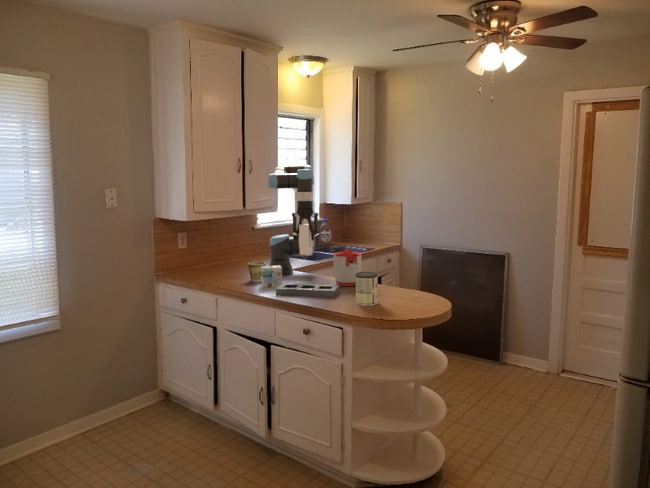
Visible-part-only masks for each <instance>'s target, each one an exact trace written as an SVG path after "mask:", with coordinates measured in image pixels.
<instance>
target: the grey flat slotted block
mask: <svg viewBox="0 0 650 488" xmlns="http://www.w3.org/2000/svg"><path fill="white" fill-rule="evenodd" d="M340 292H341V286H340V285H337V284H317V283H315V284H314V283H313V284H312V283H310V284H309V283H290V282H289V283H286V282H282V285H280V286H279V287H275V296H277V297H279V296H280V297H281V296H282V297H302V298H305V297H307V298H328V299H335V298H336V297H337V296H338V295H339V294H340Z"/></svg>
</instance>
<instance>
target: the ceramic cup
mask: <svg viewBox="0 0 650 488" xmlns="http://www.w3.org/2000/svg"><path fill="white" fill-rule="evenodd" d="M261 266H266V262H264V261H252V262H248V263H247V268H248V272H249V277H250V281H251V282H253V283H257V282H260V283H261Z"/></svg>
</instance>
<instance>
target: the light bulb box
mask: <svg viewBox="0 0 650 488" xmlns="http://www.w3.org/2000/svg"><path fill="white" fill-rule="evenodd" d="M260 283H261V287H262V289H266V288H269V289H270V288H277V287H279V286H280V285H282V284H283V276H282V267H281V266H280V265H276V266H269V265H265V266H261V281H260Z"/></svg>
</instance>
